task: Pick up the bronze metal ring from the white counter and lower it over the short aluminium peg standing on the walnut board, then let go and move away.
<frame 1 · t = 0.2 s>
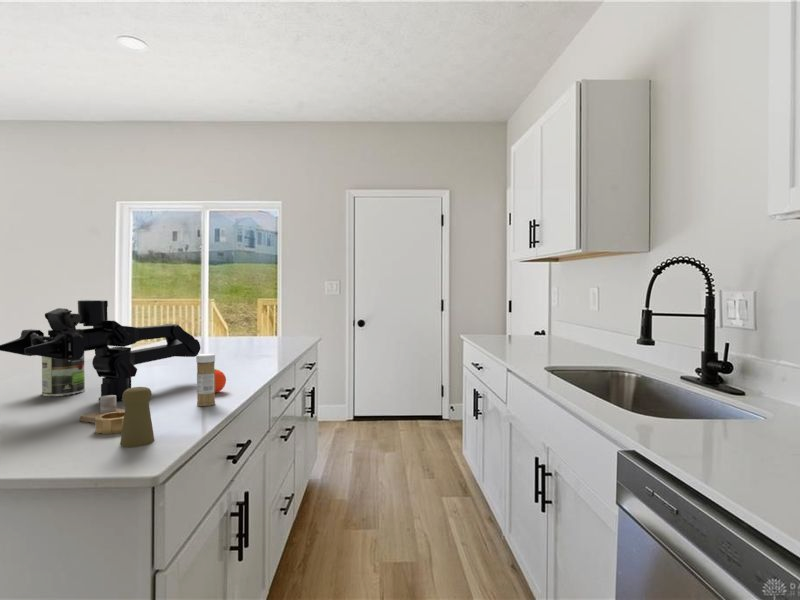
hand: (11, 349, 104), 17 cm above the countertop, tool horizontal, fingers open, 9 cm apart
sprinkles bottle: (205, 405, 122), on the countertop
clementine: (213, 393, 137), on the countertop
peg stand: (108, 418, 109), on the countertop
cork: (137, 443, 92), on the countertop
ring: (114, 429, 101), on the countertop
coffee can: (63, 393, 135), on the countertop
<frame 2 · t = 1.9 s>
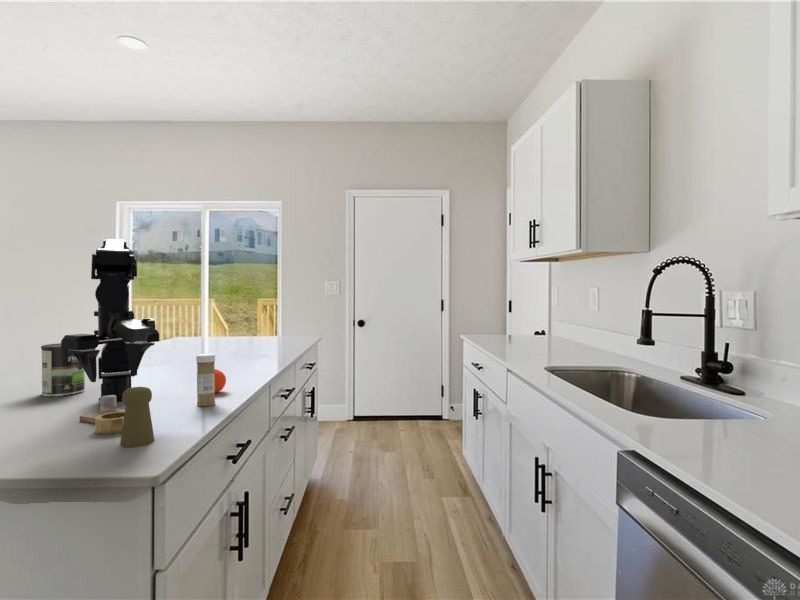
hand: (114, 378, 100), 11 cm above the countertop, tool pointing down, fingers open, 9 cm apart
nothing on the countertop moved.
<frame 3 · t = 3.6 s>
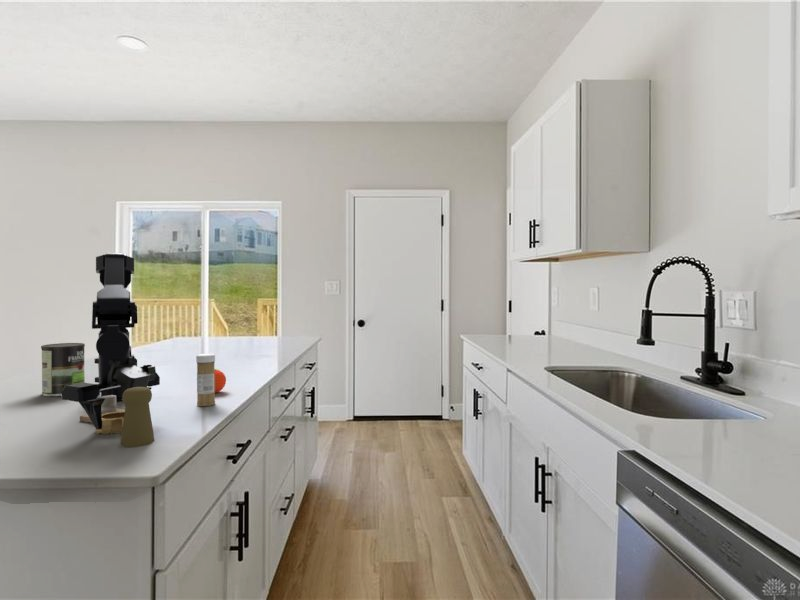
hand: (114, 424, 101), 1 cm above the countertop, tool pointing down, fingers closed on ring, 7 cm apart
ring: (114, 429, 101), on the countertop, touching gripper
everything else where it was.
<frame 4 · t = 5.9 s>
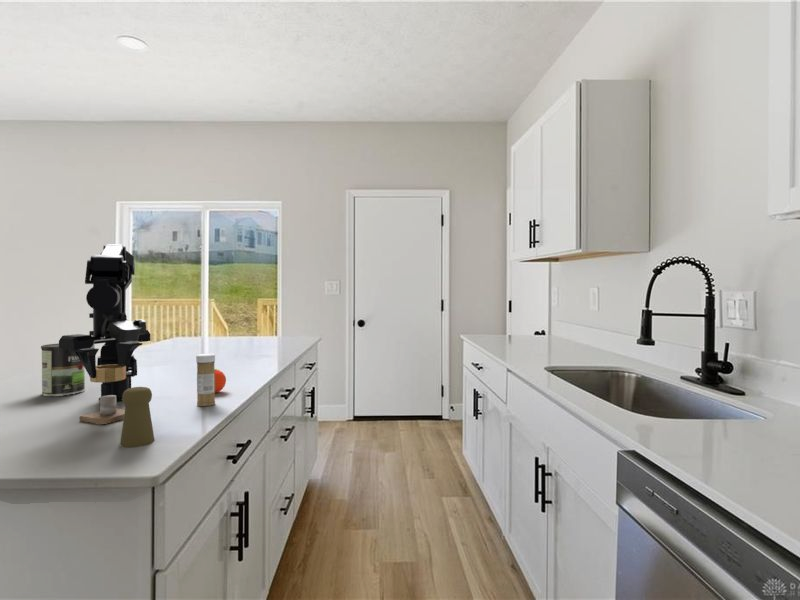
hand: (108, 375, 108), 10 cm above the countertop, tool pointing down, fingers closed on ring, 7 cm apart
ring: (108, 379, 108), point 9 cm above the countertop, touching gripper
everything else where it was.
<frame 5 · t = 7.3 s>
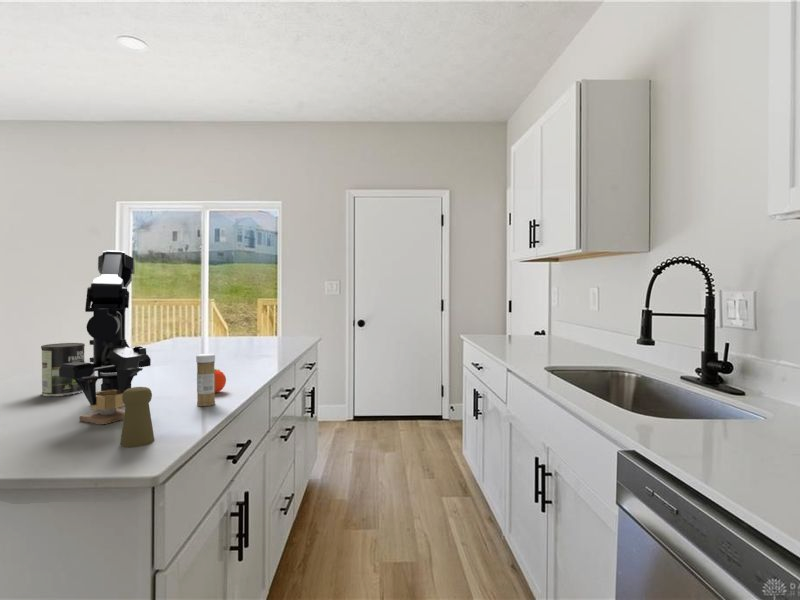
hand: (108, 401, 109), 4 cm above the countertop, tool pointing down, fingers closed on ring, 7 cm apart
ring: (108, 405, 109), point 3 cm above the countertop, touching gripper
everything else where it was.
when the fingers open (4 cm above the countertop, at t = 8.2 s): ring drops 2 cm, resting on peg stand.
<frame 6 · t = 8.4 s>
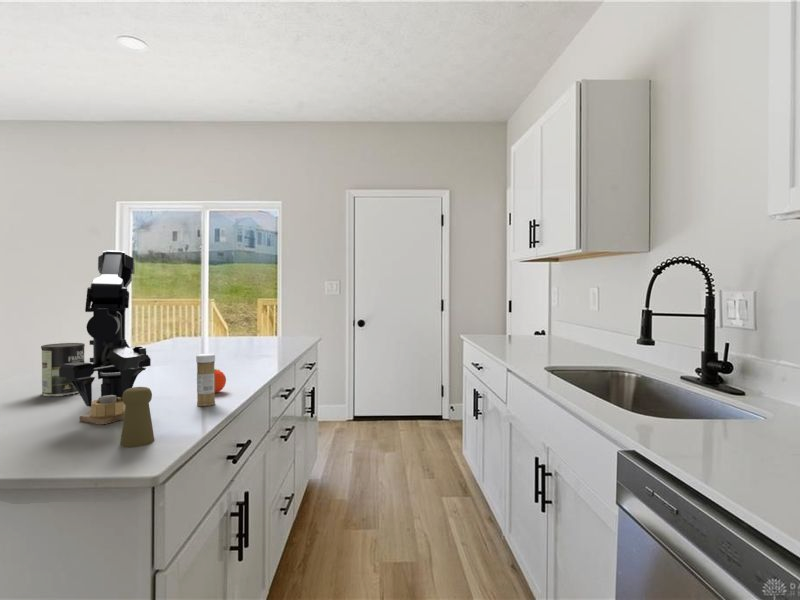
hand: (108, 401, 109), 4 cm above the countertop, tool pointing down, fingers open, 9 cm apart
ring: (108, 413, 109), point 1 cm above the countertop, touching peg stand
everything else where it was.
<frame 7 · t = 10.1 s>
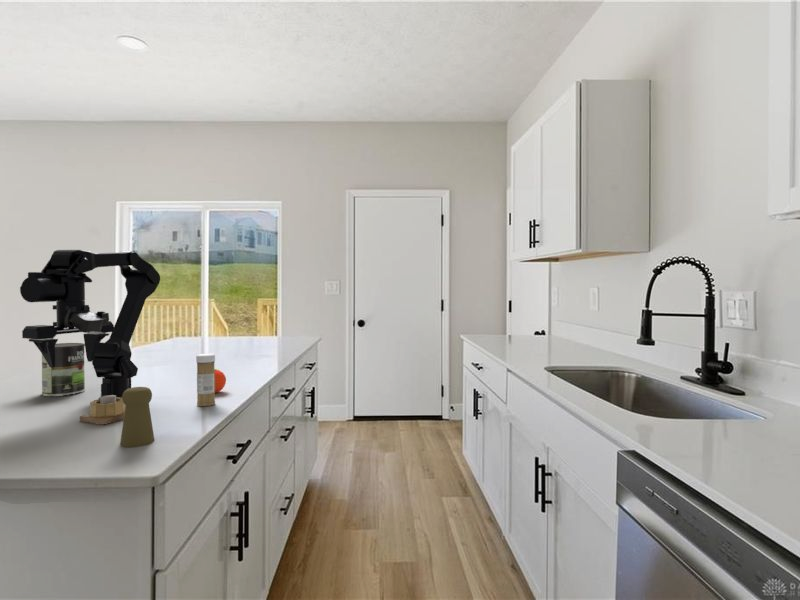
hand: (71, 364, 113), 12 cm above the countertop, tool pointing down, fingers open, 9 cm apart
nothing on the countertop moved.
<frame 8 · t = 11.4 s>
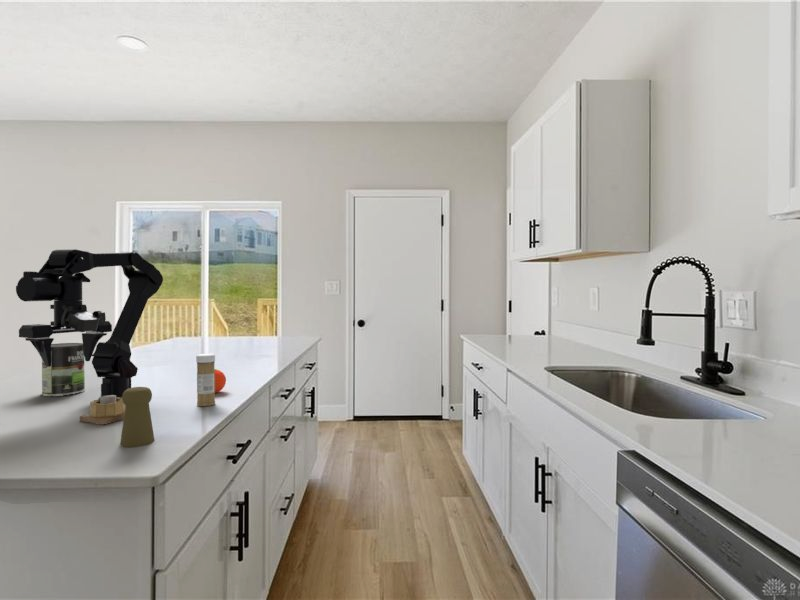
hand: (68, 363, 114), 12 cm above the countertop, tool pointing down, fingers open, 9 cm apart
nothing on the countertop moved.
at the end: ring 0.0 cm off-centre on the peg stand, point 1.2 cm above the peg stand's base; the gripper is holding nothing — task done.
